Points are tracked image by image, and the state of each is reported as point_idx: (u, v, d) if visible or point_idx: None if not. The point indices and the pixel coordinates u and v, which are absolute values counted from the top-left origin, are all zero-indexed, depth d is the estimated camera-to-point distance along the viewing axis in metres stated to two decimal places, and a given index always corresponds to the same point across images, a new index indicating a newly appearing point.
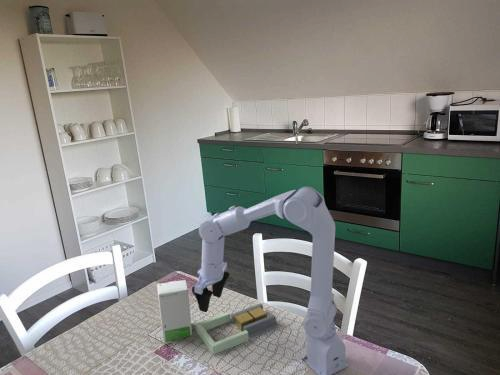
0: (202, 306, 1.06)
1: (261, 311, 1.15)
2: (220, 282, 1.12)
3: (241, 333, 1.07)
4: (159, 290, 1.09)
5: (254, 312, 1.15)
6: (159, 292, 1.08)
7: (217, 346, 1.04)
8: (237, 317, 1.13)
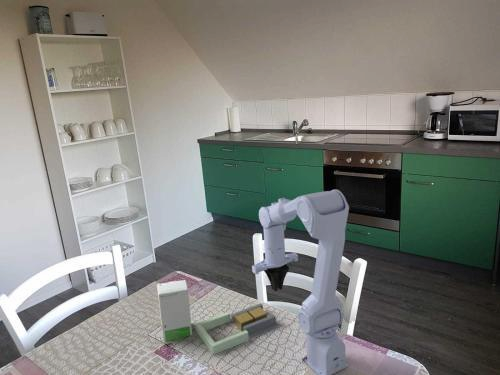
0: (272, 285, 1.16)
1: (261, 311, 1.15)
2: (280, 274, 1.16)
3: (241, 333, 1.07)
4: (159, 290, 1.09)
5: (254, 312, 1.15)
6: (159, 292, 1.08)
7: (217, 346, 1.04)
8: (237, 317, 1.13)
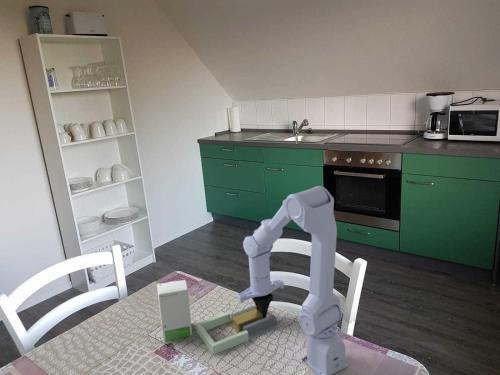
0: (260, 312, 1.16)
1: (256, 313, 1.15)
2: None
3: (241, 333, 1.07)
4: (159, 290, 1.09)
5: (249, 314, 1.15)
6: (159, 292, 1.08)
7: (217, 346, 1.04)
8: (234, 318, 1.13)
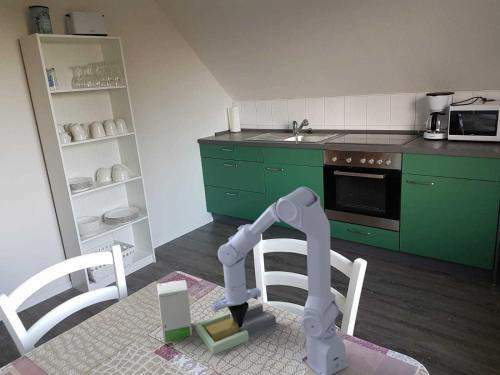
0: (236, 321, 1.12)
1: (232, 323, 1.11)
2: None
3: (241, 333, 1.07)
4: (159, 290, 1.09)
5: (225, 324, 1.11)
6: (159, 292, 1.08)
7: (217, 346, 1.04)
8: (208, 328, 1.10)
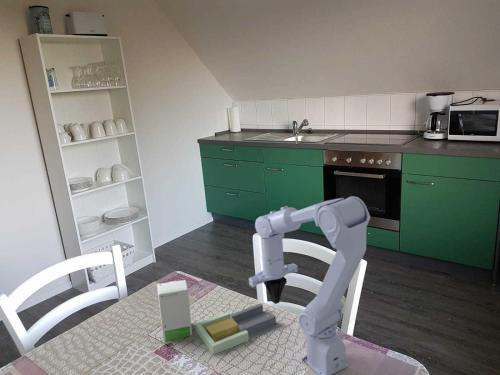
0: (272, 297, 1.10)
1: (232, 323, 1.11)
2: None
3: (241, 333, 1.07)
4: (159, 290, 1.09)
5: (225, 324, 1.11)
6: (159, 292, 1.08)
7: (217, 346, 1.04)
8: (208, 328, 1.10)
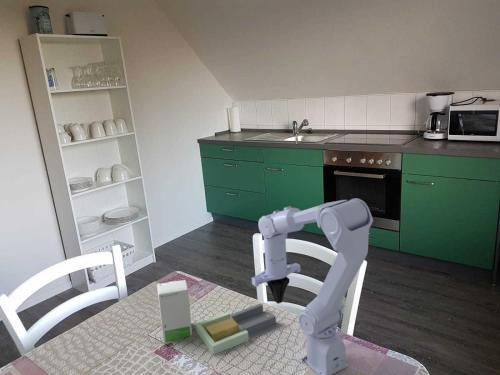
0: (275, 297, 1.10)
1: (232, 323, 1.11)
2: None
3: (241, 333, 1.07)
4: (159, 290, 1.09)
5: (225, 324, 1.11)
6: (159, 292, 1.08)
7: (217, 346, 1.04)
8: (208, 328, 1.10)
